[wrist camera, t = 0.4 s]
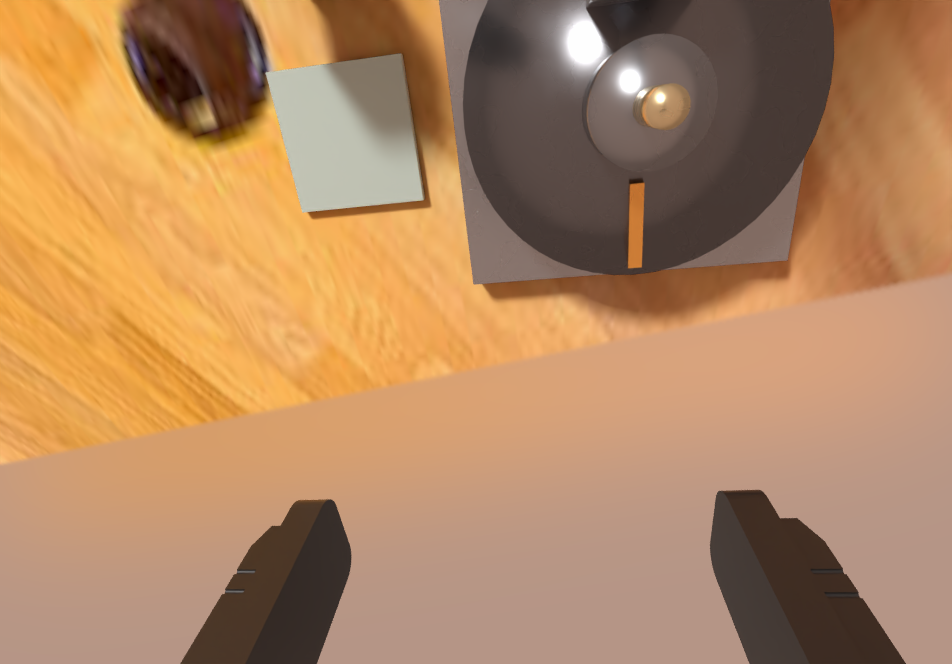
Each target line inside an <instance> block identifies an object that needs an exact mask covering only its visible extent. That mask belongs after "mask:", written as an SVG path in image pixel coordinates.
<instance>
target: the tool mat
mask: <svg viewBox="0 0 952 664" xmlns="http://www.w3.org/2000/svg"><path fill="white" fill-rule="evenodd" d="M266 75H267V79H268V83H269V87H270V91H271V95H272V98H273V102H274V106H275V110H276V114H277V117H278V121H279V125H280V129H281V133H282V136H283V140H284V144H285V148H286V152H287V155H288V159H289V163H290V167H291V171H292V174H293V178H294V182H295V186H296V190H297V194H298V197H299V201H300V205H301V209H302V212H312V211H322V210H332V209H342V208H351V207H361V206H371V205H381V204H391V203H401V202H411V201H421V200H424V199H425V195H424V189H423V182H422V176H421V170H420V163H419V157H418V150H417V144H416V137H415V131H414V124H413V118H412V111H411V105H410V98H409V92H408V85H407V79H406V72H405V66H404V60H403V54H401V53H399V54H392V55H385V56H378V57H371V58H364V59H357V60H350V61H343V62H336V63H330V64H323V65H316V66H309V67H302V68H295V69H288V70H281V71H274V72H267V73H266Z"/></svg>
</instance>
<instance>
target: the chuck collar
mask: <svg viewBox="0 0 952 664" xmlns="http://www.w3.org/2000/svg"><path fill="white" fill-rule="evenodd" d="M833 60H834V27H833V21H832V14H831V8H830V1H829V0H488V1H487V3H486V6H485V8H484V10H483V13H482V15H481V17H480V20H479V22H478V24H477V27H476V30H475V34H474V37H473V40H472V43H471V47H470V50H469V55H468V60H467V66H466V71H465V77H464V91H463V117H464V130H465V135H466V141H467V147H468V152H469V155H470V158H471V161H472V165H473V168H474V171H475V174H476V176H477V178H478V181H479V183H480V185H481V187H482V189H483V192H484V193H485V195H486V197H487V198H488V200H489V202H490V203H491V205H492V206H493V208H494V210H495V211H496V212H497V214H498V215H499V216H500V217H501V219H502V220H503V221H504V222H505V223H506V225H507V226H508V227H509V228H510V229H511V230H512V231H513V232H514V233H515V234H516V235H518V236H519V237H520V238H521V239H522V240H523V241H524V242H526V243H527V244H528V245H530V246H531V247H533V248H534V249H535V250H537V251H538V252H540V253H542V254H544V255H545V256H547V257H549V258H551V259H553V260H555V261H557V262H560V263H562V264H565V265H567V266H570V267H573V268H576V269H580V270H584V271H588V272H593V273H601V274H610V275H634V274H642V273H649V272H656V271H660V270H664V269H667V268H671V267H675V266H678V265H681V264H683V263H686V262H689V261H691V260H694V259H696V258H698V257H700V256H702V255H704V254H706V253H708V252H710V251H712V250H714V249H716V248H718V247H719V246H721V245H722V244H724V243H725V242H727V241H728V240H730V239H731V238H733V237H734V236H736V235H737V234H739V233H740V232H741V231H742V230H743V229H745V228H746V227H747V226H748V225H750V224H751V223H752V222H753V221H754V220H756V219H757V218H758V217H759V216H760V215H761V214H762V213H763V212H764V211H765V209H766V208H767V207H768V206H769V205H770V204H771V203H772V202H773V201H774V200H775V199H776V198H777V196H778V195H779V194H780V193H781V191H782V190H783V189H784V188H785V186H786V185H787V184H788V182H789V181H790V180H791V178H792V176H793V175H794V173H795V172H796V170H797V169H798V167H799V165H800V164H801V162H802V161H803V159H804V157H805V155H806V153H807V151H808V149H809V147H810V145H811V143H812V141H813V139H814V137H815V135H816V132H817V129H818V126H819V124H820V121H821V118H822V115H823V113H824V110H825V106H826V101H827V97H828V93H829V89H830V85H831V78H832V69H833Z"/></svg>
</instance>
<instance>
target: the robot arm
mask: <svg viewBox="0 0 952 664" xmlns="http://www.w3.org/2000/svg"><path fill="white" fill-rule="evenodd" d="M710 553H711V560H712V565H713V570H714V573H715V576H716V579H717V582H718V584H719V587H720V589H721V592H722V594H723V597H724V600H725V602H726V604H727V607H728V610H729V612H730V615H731V617H732V620H733V623H734V625H735V628H736V630H737V633H738V635H739V638H740V640H741V643H742V645H743V648H744V651H745V653H746V656H747V658H748V661H749V663H750V664H906V663H905V662H904V660H903V659H902V657H901V656H900V654H899V653H898V651H897V649H896V648H895V647H894V645H893V643H892V642H891V640H890V639H889V637H888V636H887V634H886V633H885V631H884V630H883V628H882V627H881V625H880V624H879V622H878V621H877V619H876V618H875V616H874V615H873V613H872V612H871V610H870V609H869V608H868V606H867V604H866V603H865V601H864V600H863V599H862V598H860V597H859V595H858V591H857V589H856V588H855V587H854V585H853V583H852V582H851V580H850V579H849V578H848V576H847V575H846V574H844V573H843V568H842V567H841V565H840V564H839V562H838V561H837V559H836V558H835V556H834V555H833V553H832V552H831V550H830V549H829V547H828V546H827V544H826V543H825V541H824V540H822V539H821V538H820V537H819V536H818V535H817V534H815V533H814V532H813V531H812V530H811V529H809V528H808V527H807V526H806V525H804V524H803V523H802V522H801V521H800V520H798V519H797V518H781V519H780V518H779V516H778V514H777V513H776V511H775V509H774V508H773V506H772V504H771V503H770V501H769V499H768V498H767V496H766V495H765V494H764V493H763V492H762V491H761V490H738V491H737V490H736V491H719V492H718V493H717V495H716V501H715V509H714V517H713V525H712V533H711V541H710ZM350 567H351V549H350V544H349V542H348V539H347V536H346V533H345V530H344V527H343V524H342V521H341V518H340V515H339V512H338V510H337V507H336V504H335V502H334V501H333V500H298V501H296V502H295V503H294V504H293V505H292V507H291V508H290V510H289V512H288V514H287V516H286V517H285V519H284V521H283V523H282V524H281V526H272V527H271V528H269V529H268V530H267V531H266V532H265V533H264V534H263V535H262V536H261V537H260V538H259V539H258V540H257V541H256V542H255V543H254V544H253V545H252V546H251V547H250V549H249V551H248V553H247V554H246V556H245V557H244V559H243V561H242V562H241V564H240V566H239V567H238V569H237V574H235V575H234V576H233V577H232V579H231V580H230V582H229V584H228V586H227V587H226V589H225V590H226V591H225V594H222V595H221V597H220V599H219V600H218V602H217V604H216V606H215V607H214V609H213V610H212V612H211V614H210V616H209V617H208V619H207V620H206V622H205V624H204V626H203V627H202V629H201V630H200V632H199V634H198V635H197V637H196V639H195V640H194V642H193V644H192V645H191V647H190V649H189V650H188V652H187V654H186V655H185V657H184V659H183V660H182V662H181V664H317V662H318V659H319V656H320V653H321V651H322V648H323V645H324V642H325V640H326V637H327V634H328V631H329V628H330V626H331V623H332V620H333V618H334V615H335V612H336V609H337V607H338V604H339V601H340V598H341V596H342V593H343V590H344V587H345V585H346V582H347V579H348V576H349V572H350Z"/></svg>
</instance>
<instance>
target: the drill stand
mask: <svg viewBox="0 0 952 664" xmlns="http://www.w3.org/2000/svg"><path fill="white" fill-rule="evenodd" d="M487 1H488V0H439V5H440V13H441V21H442V29H443V37H444V46H445V54H446V62H447V70H448V78H449V87H450V95H451V103H452V111H453V119H454V128H455V136H456V144H457V152H458V161H459V169H460V177H461V185H462V193H463V202H464V210H465V218H466V226H467V234H468V243H469V251H470V259H471V267H472V275H473V284H486V283H499V282H512V281H525V280H538V279H551V278H564V277H578V276H591V275H604V274H601V273H593V272H588V271H584V270H580V269H576V268H573V267H570V266H567V265H565V264H562V263H560V262H557V261H555V260H553V259H551V258H549V257H547V256H545V255H544V254H542V253H540V252H538V251H537V250H535V249H534V248H533V247H531V246H530V245H528V244H527V243H526V242H524V241H523V240H522V239H521V238H520V237H519V236H518V235H516V234H515V233H514V232H513V231H512V230H511V229H510V228H509V227H508V226H507V225H506V223H505V222H504V221H503V220H502V219H501V217H500V216H499V215H498V214H497V212H496V211H495V210H494V208H493V206H492V205H491V203H490V202H489V200H488V198H487V197H486V195H485V193H484V192H483V189H482V187H481V185H480V183H479V181H478V178H477V176H476V174H475V171H474V168H473V165H472V161H471V158H470V155H469V152H468V147H467V141H466V135H465V130H464V117H463V91H464V77H465V71H466V66H467V60H468V55H469V50H470V47H471V43H472V40H473V37H474V34H475V30H476V27H477V24H478V22H479V20H480V17H481V15H482V13H483V10H484V8H485V6H486V3H487ZM829 1H830V0H829ZM804 158H805V157H804ZM803 164H804V159H803V161H802V162H801V164H800V165H799V167H798V169H797V170H796V172H795V173H794V175H793V176H792V178H791V180H790V181H789V182H788V184H787V185H786V186H785V188H784V189H783V190H782V191H781V193H780V194H779V195H778V196H777V198H776V199H775V200H774V201H773V202H772V203H771V204H770V205H769V206H768V207H767V208H766V209H765V211H764V212H763V213H762V214H761V215H760V216H759V217H758V218H757V219H756V220H754V221H753V222H752V223H751V224H750V225H748V226H747V227H746V228H745V229H743V230H742V231H741V232H740V233H739V234H737V235H736V236H734V237H733V238H731V239H730V240H728V241H727V242H725V243H724V244H722V245H721V246H719V247H718V248H716V249H714V250H712V251H710V252H708V253H706V254H704V255H702V256H700V257H698V258H696V259H694V260H691V261H689V262H686V263H683V264H681V265H678V266H675V267H671V268H667V269H664V270H669V269H682V268H695V267H708V266H721V265H734V264H748V263H761V262H774V261H787V260H788V255H789V249H790V243H791V237H792V230H793V224H794V218H795V212H796V206H797V200H798V194H799V188H800V182H801V176H802V170H803Z"/></svg>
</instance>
